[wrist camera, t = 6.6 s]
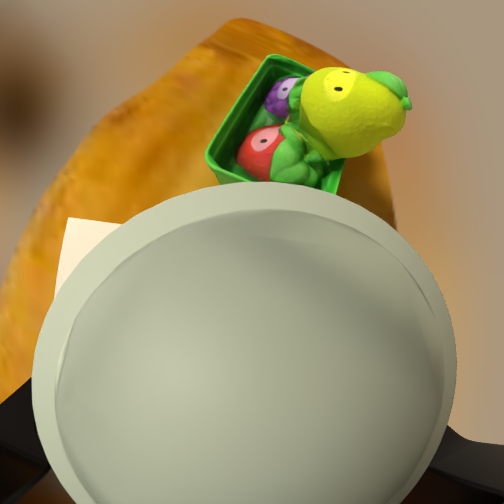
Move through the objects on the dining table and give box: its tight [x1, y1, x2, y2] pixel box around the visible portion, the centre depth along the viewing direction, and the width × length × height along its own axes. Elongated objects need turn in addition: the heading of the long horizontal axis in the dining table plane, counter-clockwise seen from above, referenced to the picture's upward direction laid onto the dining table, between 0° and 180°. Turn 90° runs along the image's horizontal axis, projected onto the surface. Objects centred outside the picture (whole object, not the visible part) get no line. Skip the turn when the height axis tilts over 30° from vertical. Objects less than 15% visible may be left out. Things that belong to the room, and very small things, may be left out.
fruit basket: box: [205, 54, 412, 195], centre depth 16 cm, size 11×9×11 cm
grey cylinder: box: [32, 182, 457, 504], centre depth 8 cm, size 5×5×11 cm
